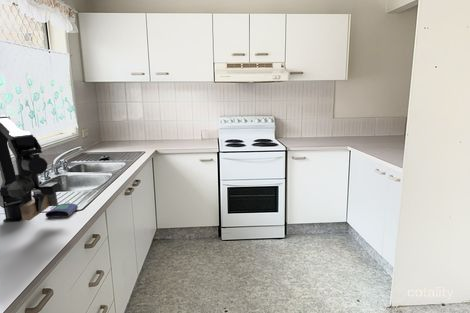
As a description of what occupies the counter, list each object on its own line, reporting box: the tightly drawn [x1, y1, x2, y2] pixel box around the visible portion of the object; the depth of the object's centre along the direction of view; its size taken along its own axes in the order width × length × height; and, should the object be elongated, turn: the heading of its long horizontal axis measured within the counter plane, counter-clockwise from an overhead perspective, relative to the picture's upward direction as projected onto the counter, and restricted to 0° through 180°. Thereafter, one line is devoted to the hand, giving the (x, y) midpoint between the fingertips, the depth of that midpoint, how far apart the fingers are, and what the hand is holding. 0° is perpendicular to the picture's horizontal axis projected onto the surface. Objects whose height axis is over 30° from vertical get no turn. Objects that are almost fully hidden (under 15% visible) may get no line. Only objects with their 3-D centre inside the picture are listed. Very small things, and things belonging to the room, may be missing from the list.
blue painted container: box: [44, 203, 79, 219], centre depth 134 cm, size 9×3×11 cm
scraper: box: [20, 191, 59, 221], centre depth 116 cm, size 13×8×6 cm, turn 0°
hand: (34, 211), depth 115 cm, fingers closed on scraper, 2 cm apart
